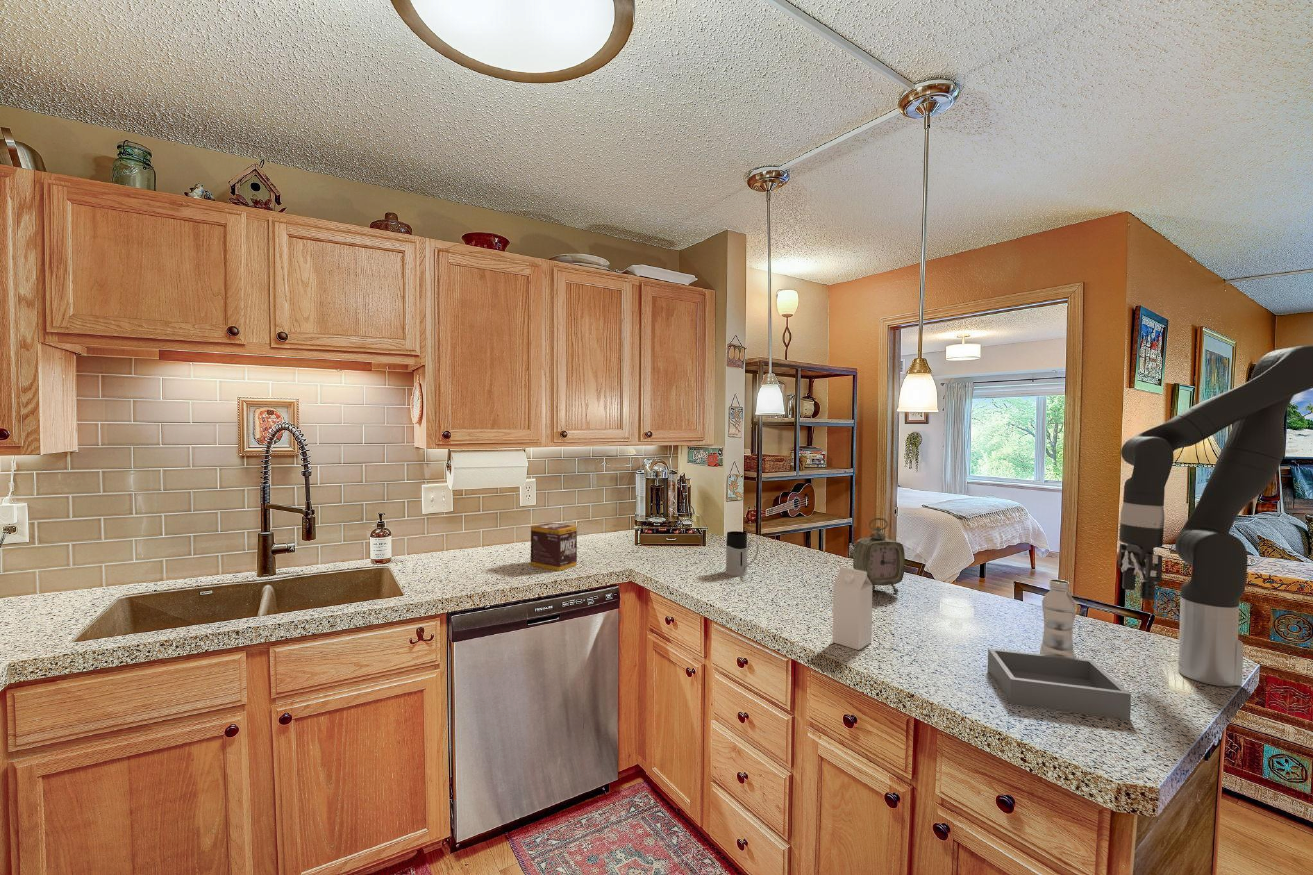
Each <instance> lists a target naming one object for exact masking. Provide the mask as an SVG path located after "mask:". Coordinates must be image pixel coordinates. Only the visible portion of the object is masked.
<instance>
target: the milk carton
mask: <svg viewBox="0 0 1313 875" xmlns="http://www.w3.org/2000/svg"><path fill="white" fill-rule="evenodd" d="M832 586H833V588H832V589H833V593H832V594H833V595H832V643H834V644H837V645H841V646H844V647H847V648H850V649H854V650H857V651H860V650H861V649H863V648H864V647H866V646H868V645H870V644H871V643H872V632H873V631H872V626H873V625H872V623H873V622H872V620H873V590H872V583H871V582H870V580H869V579H868V577H867V572H865V571H860V570H855V569H854V568H849V567H844V566H839V571H838V574H837V576H836V578H835V580H834V582H833V585H832Z"/></svg>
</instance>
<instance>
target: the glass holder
mask: <svg viewBox="0 0 1313 875" xmlns="http://www.w3.org/2000/svg"><path fill="white" fill-rule="evenodd" d="M751 542H755V544H756V551H755V556H754V558H753V559H752V561H750V563H748V551H749V550H750V546H751ZM725 546H726V549H725V550H726V552H725V553H726V554H725V556H726V557H725V560H726V561H725V571H724V574H726V575H728V576H731V577H733V576H734V577H744V576H747V575H749V570H748V567H750V565H752V563H754V562H755V561H756V560H757V557H758V553H759V550H760V548H759V543H758V541H757V540H755V539H750V540H749V541H748V533H747V532H745V531H741V530H739V531H738V530H737V531H736V530H734V531H732V530H731V531H728V532H727V533H726V545H725Z"/></svg>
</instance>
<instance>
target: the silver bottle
mask: <svg viewBox="0 0 1313 875" xmlns="http://www.w3.org/2000/svg"><path fill="white" fill-rule="evenodd" d="M1048 588H1049V589H1050V590H1049V591H1048V592H1047V593H1046V594H1045V595H1044V596H1043V598H1042V600H1041V607H1042V614H1043V633H1042V634H1043V635H1042V641H1041V642H1042V643H1041V644H1040V648H1039V654H1043V655H1051V656H1060V657H1069V658H1076V655H1075V654H1076V653H1075V649H1074V639H1073V638H1074V637H1073V636H1074V635H1073V634H1074V624H1075V619H1076V615H1077V611H1078V606H1077V602H1076V601H1075V600H1074V598H1073V597H1072V595H1071V594H1070V593H1069V592H1070V591H1071V588H1070V582H1069V581H1067V580H1063V579H1055V578H1053V579H1051V578H1050V579H1049V585H1048Z"/></svg>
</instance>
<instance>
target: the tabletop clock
mask: <svg viewBox="0 0 1313 875" xmlns="http://www.w3.org/2000/svg"><path fill="white" fill-rule="evenodd" d="M878 520H879V521H884V522H885V524H886V525H885V526H884V527H881V526H879V525H877V526H876V528H875V527H872V526H871V524H872V523H873V522H874V521H878ZM868 526H869V528H870V530H873V532H872V533H871V534H870V536H869V537H863V538H859V539H858V540H856V541H855V542H854V544H853V545H854V546H853V552H852V553H853V554H852V567H853V568H852V569H855V570H860V571H865V572H867V577H868V579H869V580H870V582H871V583H872V591H875V590H876V586H891V587H892V588H893V590H892V591H893V593H894V594H897V593H899V589H898V588H897V587H896V586H895V585H897V584H899V583H901V582H902V581H903V578H904V576H905V575H904V574H905V567H906V566H905V564H906V563H905V562H906V558H905V557H906V555H905V553H906V552H905V547H904V545H903V544H902V543H900V542H899V541H898V542H897V541H894V540H891V539H889V538H887V535H886V534H885V533H884V532H883V531H884V530H885V529H887V527H888V526H889V522H888V520H887V519H885V518H883V517H874V518H872V519H871V520H870V521H869V522H868Z"/></svg>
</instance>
